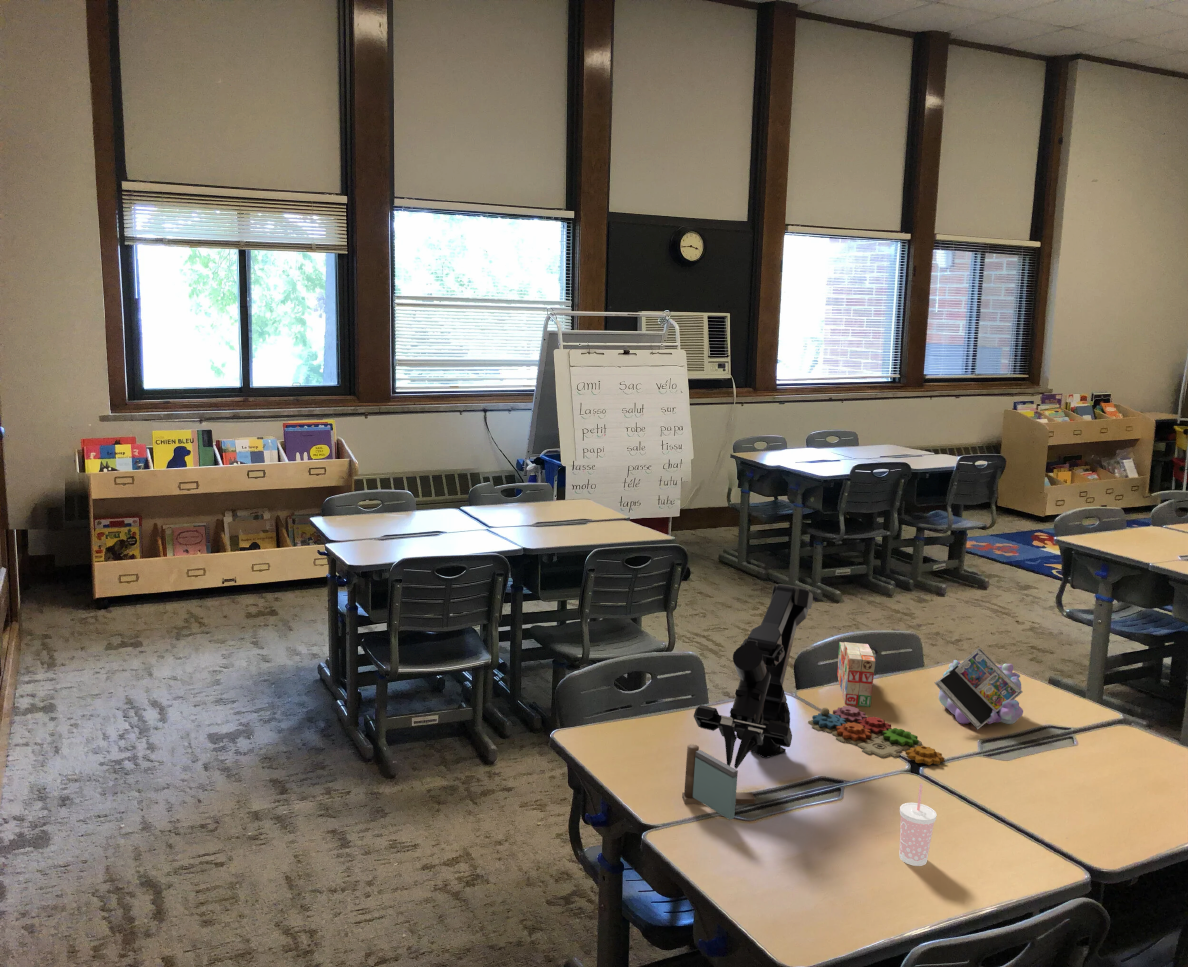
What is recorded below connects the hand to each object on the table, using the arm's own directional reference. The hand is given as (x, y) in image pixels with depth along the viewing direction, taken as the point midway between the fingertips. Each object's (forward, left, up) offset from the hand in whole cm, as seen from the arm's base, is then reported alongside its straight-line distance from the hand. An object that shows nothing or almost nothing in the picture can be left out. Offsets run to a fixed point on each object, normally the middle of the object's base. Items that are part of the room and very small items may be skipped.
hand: (731, 767), depth 186 cm
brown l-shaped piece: (+1, -2, -7) cm, 8 cm away
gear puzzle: (-49, -4, -8) cm, 50 cm away
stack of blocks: (-69, -28, -8) cm, 75 cm away
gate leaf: (+6, +2, -6) cm, 9 cm away
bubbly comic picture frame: (-82, 0, -8) cm, 82 cm away
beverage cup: (-14, +32, -7) cm, 35 cm away
